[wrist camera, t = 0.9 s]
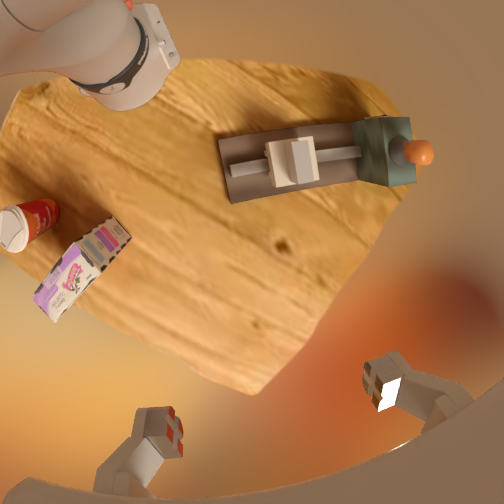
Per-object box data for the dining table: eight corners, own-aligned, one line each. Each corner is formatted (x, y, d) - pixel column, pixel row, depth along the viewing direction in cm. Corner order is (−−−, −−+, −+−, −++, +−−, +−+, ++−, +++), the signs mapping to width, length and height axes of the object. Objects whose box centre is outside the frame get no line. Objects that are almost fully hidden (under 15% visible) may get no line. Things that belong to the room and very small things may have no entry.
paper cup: (53, 238, 46) (16, 264, 32) (29, 216, 43) (-12, 236, 30) (70, 207, 44) (30, 225, 31) (44, 184, 42) (1, 196, 29)
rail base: (217, 137, 45) (219, 131, 34) (373, 118, 47) (410, 113, 36) (230, 202, 49) (236, 216, 38) (380, 175, 51) (418, 183, 40)
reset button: (402, 140, 34) (415, 140, 31) (419, 139, 34) (432, 139, 32) (405, 164, 35) (417, 166, 33) (422, 162, 36) (434, 164, 33)
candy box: (112, 213, 46) (73, 240, 31) (133, 237, 48) (103, 273, 33) (70, 259, 47) (28, 297, 32) (89, 281, 49) (54, 325, 34)
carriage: (262, 143, 44) (274, 140, 36) (302, 137, 45) (322, 134, 36) (270, 184, 47) (283, 190, 38) (309, 177, 47) (329, 182, 39)
